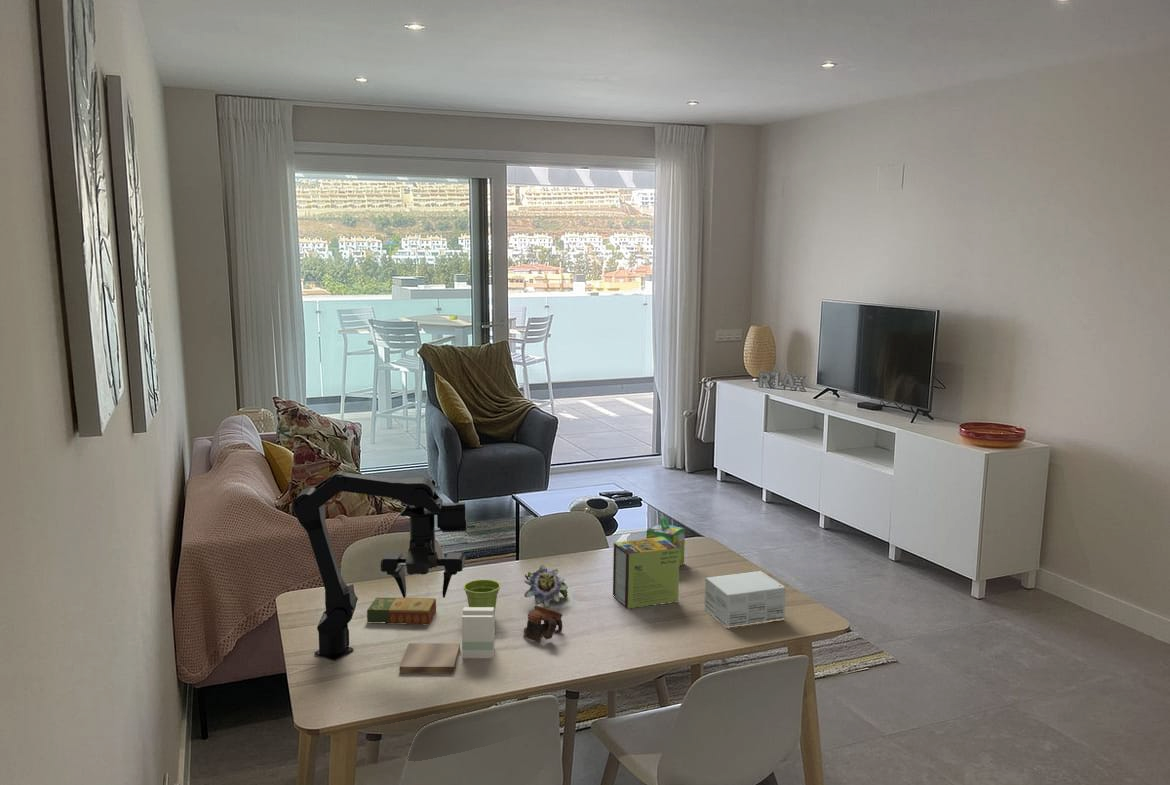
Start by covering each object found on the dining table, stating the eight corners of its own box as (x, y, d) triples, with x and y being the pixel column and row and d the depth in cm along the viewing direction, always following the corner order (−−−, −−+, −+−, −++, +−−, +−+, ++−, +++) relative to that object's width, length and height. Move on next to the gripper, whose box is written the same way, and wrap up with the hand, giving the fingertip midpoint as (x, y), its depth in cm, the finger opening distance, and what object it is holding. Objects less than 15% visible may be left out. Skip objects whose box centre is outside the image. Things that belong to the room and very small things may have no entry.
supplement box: (759, 602, 236) (760, 569, 234) (785, 621, 223) (786, 587, 222) (703, 609, 230) (704, 576, 229) (726, 629, 218) (727, 594, 217)
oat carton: (462, 658, 200) (461, 613, 198) (464, 647, 205) (464, 604, 204) (492, 658, 200) (492, 613, 198) (494, 647, 206) (494, 604, 204)
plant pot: (456, 617, 223) (456, 585, 221) (485, 607, 229) (485, 576, 228) (478, 628, 216) (478, 595, 215) (507, 618, 223) (507, 586, 221)
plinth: (399, 673, 192) (399, 666, 192) (409, 649, 204) (408, 643, 204) (453, 673, 192) (453, 666, 192) (460, 649, 204) (459, 643, 204)
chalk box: (672, 572, 258) (673, 524, 256) (644, 566, 262) (646, 519, 260) (685, 563, 266) (686, 516, 263) (658, 558, 270) (659, 512, 268)
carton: (429, 626, 218) (429, 610, 217) (366, 624, 219) (366, 608, 218) (436, 612, 226) (436, 597, 225) (375, 611, 227) (375, 595, 226)
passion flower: (546, 625, 231) (524, 597, 226) (532, 604, 241) (511, 576, 235) (580, 600, 233) (559, 571, 227) (565, 579, 243) (545, 551, 237)
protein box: (679, 602, 235) (680, 547, 233) (627, 609, 229) (628, 553, 227) (661, 588, 244) (663, 536, 242) (611, 595, 239) (612, 541, 237)
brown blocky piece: (514, 634, 214) (525, 602, 217) (547, 645, 218) (557, 613, 220) (534, 640, 204) (545, 606, 206) (568, 652, 207) (578, 618, 210)
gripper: (373, 544, 192) (376, 610, 194) (457, 544, 192) (459, 610, 194) (385, 528, 203) (387, 592, 205) (464, 528, 203) (466, 592, 205)
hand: (424, 597), depth 202 cm, fingers open, 9 cm apart
